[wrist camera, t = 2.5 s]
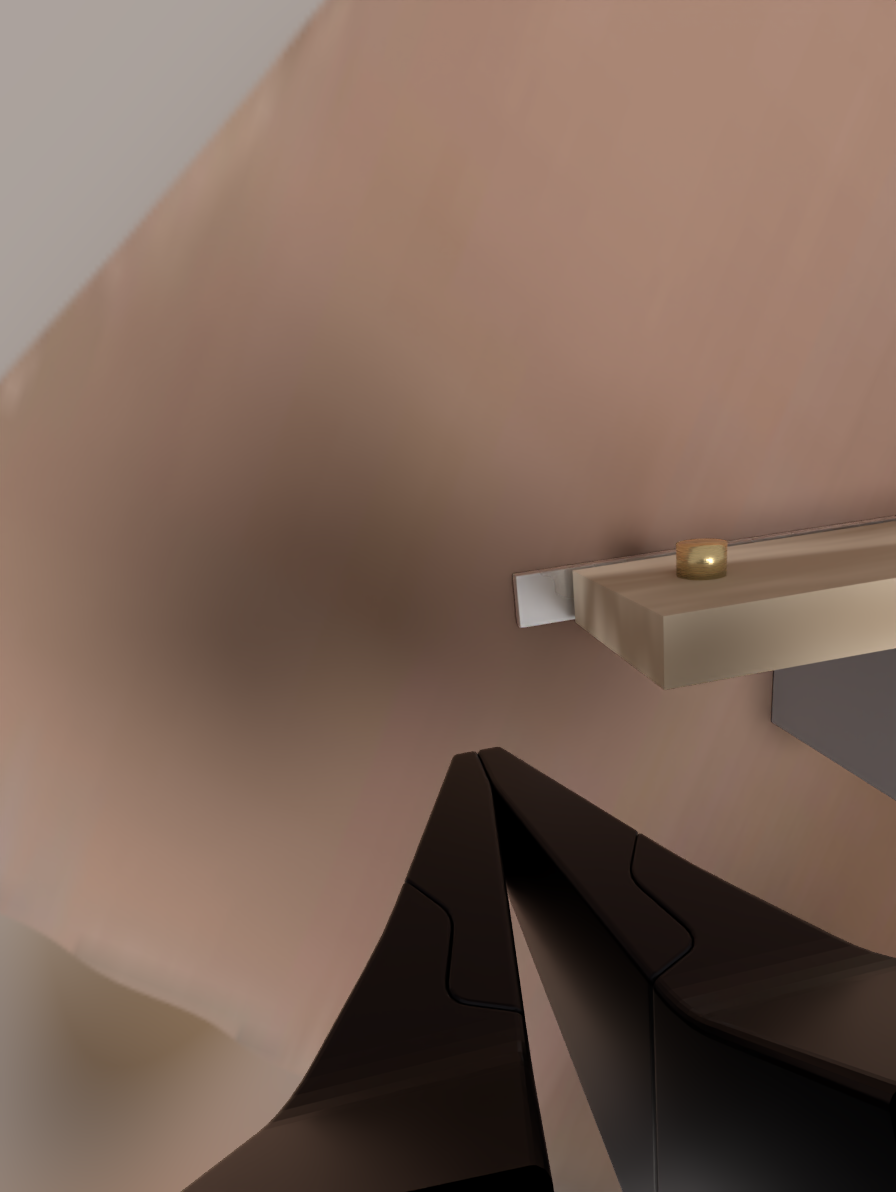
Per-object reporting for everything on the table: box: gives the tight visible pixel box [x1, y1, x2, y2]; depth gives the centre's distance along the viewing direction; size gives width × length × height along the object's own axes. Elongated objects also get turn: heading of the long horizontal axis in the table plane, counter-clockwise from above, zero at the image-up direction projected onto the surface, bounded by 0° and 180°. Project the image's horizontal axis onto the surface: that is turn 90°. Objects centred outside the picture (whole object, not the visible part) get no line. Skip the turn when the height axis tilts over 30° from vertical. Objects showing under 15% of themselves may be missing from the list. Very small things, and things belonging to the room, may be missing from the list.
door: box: [572, 521, 896, 690], centre depth 16 cm, size 3×18×6 cm, turn 97°
